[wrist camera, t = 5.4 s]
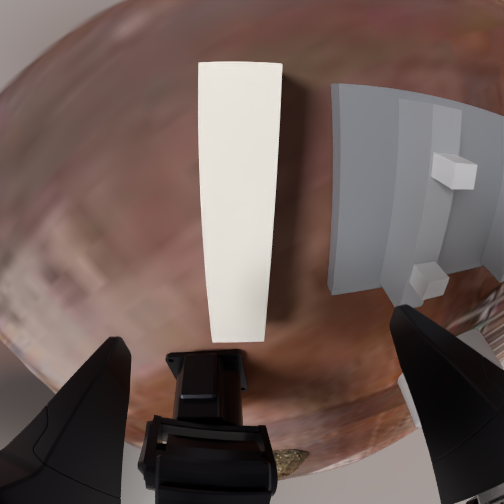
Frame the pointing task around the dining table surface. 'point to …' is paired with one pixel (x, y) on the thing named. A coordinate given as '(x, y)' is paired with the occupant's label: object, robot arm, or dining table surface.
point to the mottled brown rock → (288, 461)
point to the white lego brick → (471, 339)
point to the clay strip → (238, 191)
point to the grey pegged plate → (413, 192)
